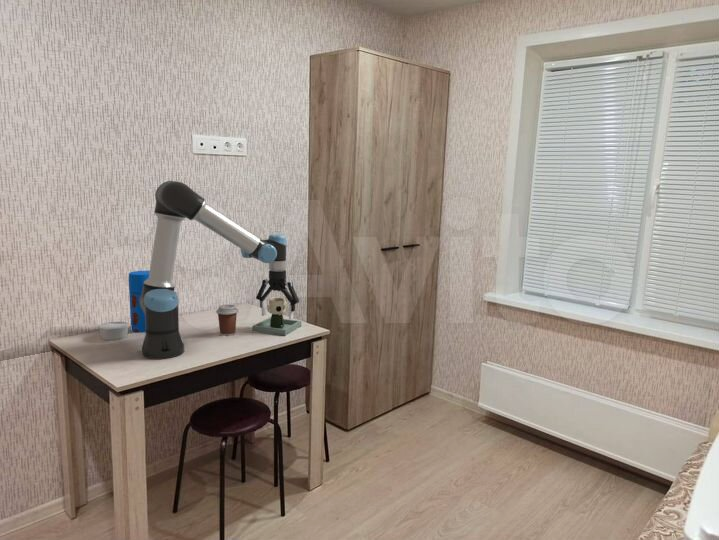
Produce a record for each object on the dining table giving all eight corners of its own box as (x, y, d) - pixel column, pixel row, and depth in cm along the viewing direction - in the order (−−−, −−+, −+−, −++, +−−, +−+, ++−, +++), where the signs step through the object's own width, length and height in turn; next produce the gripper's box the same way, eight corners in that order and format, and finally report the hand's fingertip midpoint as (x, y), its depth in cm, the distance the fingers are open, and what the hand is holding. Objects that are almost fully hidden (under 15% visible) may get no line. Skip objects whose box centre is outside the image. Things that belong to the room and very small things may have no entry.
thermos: (125, 331, 221) (122, 273, 216) (142, 324, 231) (140, 269, 226) (146, 333, 217) (144, 275, 213) (163, 327, 228) (161, 271, 223)
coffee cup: (217, 337, 215) (216, 309, 213) (216, 331, 224) (215, 304, 222) (239, 335, 218) (239, 308, 216) (237, 329, 227) (237, 303, 225)
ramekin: (130, 332, 219) (129, 320, 218) (128, 340, 209) (127, 327, 208) (101, 334, 215) (100, 322, 214) (97, 342, 205) (96, 329, 204)
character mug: (273, 331, 224) (273, 302, 221) (262, 328, 228) (262, 299, 226) (291, 326, 232) (291, 298, 230) (281, 323, 236) (281, 295, 234)
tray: (285, 335, 220) (285, 330, 220) (252, 331, 225) (252, 325, 225) (301, 326, 235) (301, 320, 235) (270, 322, 240) (270, 317, 240)
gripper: (307, 270, 225) (306, 317, 229) (256, 266, 233) (257, 311, 237) (299, 273, 218) (299, 321, 222) (248, 268, 226) (248, 315, 230)
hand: (277, 316), depth 229 cm, fingers open, 13 cm apart
